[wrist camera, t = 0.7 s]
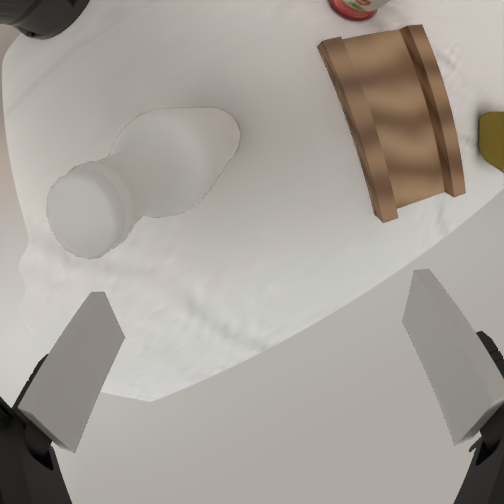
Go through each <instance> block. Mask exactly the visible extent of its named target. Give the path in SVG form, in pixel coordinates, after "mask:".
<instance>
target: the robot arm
mask: <svg viewBox="0 0 504 504" xmlns="http://www.w3.org/2000/svg"><path fill="white" fill-rule="evenodd" d="M88 1H89V0H0V24H7V25H12V26H13V27H15V28H16V29H18V30H19V31H20V32H22V33H23V34H24V35H26V36H27V37H30V38H35V39H47V38H51V37H53V36H55V35H57V34H59V33H60V32H62V31H63V30H65V29H66V28H67V27H68V26H69V25H71V24H72V23H73V22H74V21H75V19H76V18H77V17H78V16H79V15H80V14H81V12H82V11H83V9H84V8H85V6H86V5H87V3H88ZM402 322H403V324H404V326H405V328H406V330H407V332H408V334H409V336H410V339H411V341H412V343H413V345H414V347H415V349H416V351H417V353H418V356H419V358H420V360H421V362H422V364H423V367H424V369H425V371H426V373H427V375H428V378H429V380H430V383H431V385H432V387H433V389H434V392H435V395H436V397H437V400H438V402H439V405H440V407H441V410H442V412H443V415H444V418H445V420H446V423H447V426H448V428H449V431H450V434H451V436H452V440H453V443H454V445H458V444H460V443H462V442H465V441H467V440H469V439H471V438H473V437H474V436H475V435H476V433H478V431H479V430H480V433H481V435H482V436H481V437H480V438H479V439H478V440H477V441H476V442H475V443H474V444H473V445H472V446H471V447H470V449H469V452H471V451H472V450H473V449H474V448H476V450H475V452H474V456H473V458H472V461H471V464H470V467H469V469H468V472H467V474H466V477H465V479H464V482H463V484H462V486H461V488H460V491H459V493H458V495H457V497H456V499H455V502H454V504H504V359H503V356H502V354H501V353H500V351H498V348H497V347H496V345H495V344H494V342H493V340H492V339H491V338H490V337H489V336H487V335H486V334H485V333H484V332H483V331H480V332H476V333H475V331H474V330H473V328H472V327H471V325H470V324H469V322H468V321H467V319H466V318H465V317H464V315H463V313H462V312H461V311H460V309H459V308H458V306H457V305H456V304H455V302H454V301H453V300H452V298H451V297H450V296H449V294H448V293H447V291H446V290H445V289H444V287H443V286H442V285H441V284H440V282H439V281H438V280H437V278H436V277H435V276H434V275H433V273H432V272H431V271H430V269H424V270H415V271H414V273H413V278H412V282H411V287H410V291H409V296H408V300H407V304H406V308H405V312H404V316H403V320H402ZM124 339H125V336H124V334H123V332H122V330H121V328H120V326H119V323H118V321H117V319H116V317H115V315H114V313H113V310H112V308H111V306H110V304H109V301H108V299H107V297H106V294H105V292H91V293H90V294H89V296H88V297H87V299H86V300H85V301H84V303H83V304H82V305H81V307H80V308H79V310H78V311H77V312H76V314H75V315H74V317H73V318H72V320H71V321H70V323H69V324H68V325H67V327H66V328H65V330H64V331H63V333H62V334H61V336H60V337H59V339H58V340H57V342H56V343H55V345H54V347H53V348H52V350H51V351H50V353H49V354H47V355H46V356H45V357H44V358H42V359H41V360H40V361H39V362H38V364H37V366H36V367H35V369H34V371H33V373H32V374H31V376H30V377H29V381H27V382H26V384H25V386H24V387H23V389H22V391H21V393H20V395H19V396H18V398H17V400H16V402H15V404H14V405H13V407H12V408H10V407H9V406H8V405H7V403H6V402H5V401H4V400H3V399H2V398H1V397H0V504H72V502H71V499H70V497H69V494H68V491H67V488H66V486H65V483H64V480H63V477H62V474H61V471H60V468H59V465H58V461H57V458H56V455H55V451H54V449H53V447H52V446H51V442H52V441H53V442H54V443H55V444H57V445H58V446H59V447H60V448H62V449H65V450H67V451H70V452H73V453H75V452H76V449H77V447H78V444H79V442H80V439H81V437H82V434H83V431H84V429H85V426H86V424H87V421H88V419H89V416H90V414H91V412H92V409H93V407H94V404H95V402H96V400H97V397H98V395H99V393H100V390H101V388H102V386H103V384H104V381H105V379H106V377H107V375H108V372H109V370H110V368H111V366H112V364H113V362H114V359H115V357H116V355H117V353H118V351H119V349H120V347H121V345H122V343H123V341H124Z"/></svg>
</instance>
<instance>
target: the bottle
mask: <svg viewBox="0 0 504 504" xmlns="http://www.w3.org/2000/svg"><path fill="white" fill-rule="evenodd" d="M239 143H240V130H239V127H238V125H237V122H236V121H235V120H234V118H233V117H232V116H231V115H230V114H229V113H227V112H225V111H223V110H221V109H219V108H212V107H204V108H165V109H156V110H153V111H149V112H146V113H143V114H140V115H139V116H138V117H136V118H135V119H134V120H133V121H131V122H130V123H129V124H128V125H126V126H125V127H124V128H123V130H122V131H121V133H120V134H119V136H118V137H117V139H116V141H115V142H114V144H113V146H112V147H111V149H110V153H109V156H108V157H106V158H103V159H101V160H99V161H96V162H94V161H89V162H86V163H84V164H81V165H78V166H76V167H74V168H72V169H71V170H70V171H69V172H68V174H67V175H65V176H63V177H60V178H59V179H58V180H57V181H56V183H55V184H54V185H53V186H52V187H51V190H50V192H49V195H48V198H47V217H48V221H49V225H50V228H51V230H52V232H53V234H54V236H55V238H56V240H57V241H58V242H59V243H60V244H61V245H62V246H63V247H64V248H65V249H66V250H67V251H69V252H70V253H72V254H74V255H75V256H77V257H81V258H85V259H94V258H100V257H102V256H103V255H104V254H106V253H107V252H109V251H110V250H111V249H113V248H115V247H116V246H117V245H119V244H120V243H122V242H123V241H124V240H125V239H126V238H127V236H128V235H129V233H130V231H131V230H132V228H133V227H134V225H135V224H136V223H137V222H138V221H139V220H140V219H141V218H142V217H143V216H147V217H154V218H160V217H166V216H171V215H177V214H181V213H184V212H186V211H187V210H189V209H191V208H192V207H194V206H196V205H197V204H199V203H200V201H201V200H202V199H203V198H204V196H205V195H206V194H207V193H208V191H209V190H210V189H211V187H212V186H213V184H214V183H215V181H216V180H217V178H218V177H219V175H220V174H221V172H222V171H223V169H224V168H225V166H226V165H227V163H228V162H229V160H230V159H231V158H232V157H233V156H234V154H235V153H236V151H237V148H238V145H239Z"/></svg>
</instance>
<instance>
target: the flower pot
mask: <svg viewBox="0 0 504 504" xmlns="http://www.w3.org/2000/svg"><path fill="white" fill-rule="evenodd" d="M479 149H480V152H481V154H482V156H483V157H484V159H485V160H486V161H487V162H488V163H490V164H491V165H493V166H494V167H496V168H497V169H499V170H500V171H502V172H503V173H504V112H487V113H485V114H484V115H482V117H481V118H480V120H479Z"/></svg>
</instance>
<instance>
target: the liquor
mask: <svg viewBox="0 0 504 504" xmlns="http://www.w3.org/2000/svg"><path fill="white" fill-rule="evenodd" d="M389 1H390V0H329V2H330V3H331V5H332V6H333V8H334V9H335V10H336V11H337V12H338V13H340V14H341V15H343V16H345V17H347V18H350V19H353V20H367V19H369V18H371V17H373V16H374V15H375V14H376V12H377V10H378V8H379V7H381V6H382V5H384V4H386V3H387V2H389Z"/></svg>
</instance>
